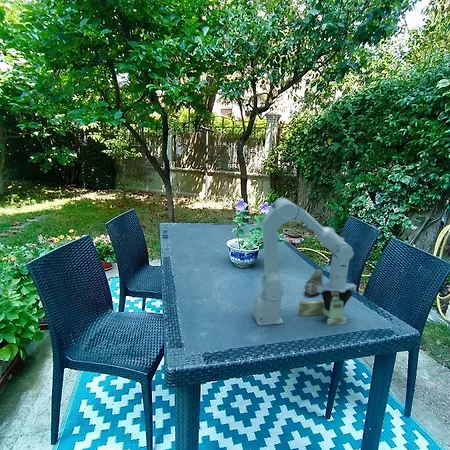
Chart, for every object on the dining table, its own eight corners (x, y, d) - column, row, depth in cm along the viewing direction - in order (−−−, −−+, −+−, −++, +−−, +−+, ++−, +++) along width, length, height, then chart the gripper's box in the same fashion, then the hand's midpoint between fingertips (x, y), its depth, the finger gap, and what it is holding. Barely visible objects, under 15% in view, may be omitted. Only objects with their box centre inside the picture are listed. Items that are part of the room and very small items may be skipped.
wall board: (308, 327, 103) (310, 314, 101) (298, 314, 111) (299, 302, 110) (349, 323, 106) (351, 311, 105) (336, 311, 114) (337, 299, 113)
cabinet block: (331, 319, 104) (332, 303, 103) (323, 313, 109) (324, 298, 109) (344, 318, 105) (344, 302, 104) (335, 313, 110) (336, 297, 110)
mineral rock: (308, 298, 123) (310, 276, 121) (292, 288, 133) (294, 267, 131) (331, 294, 129) (334, 272, 126) (315, 284, 138) (317, 264, 136)
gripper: (325, 279, 98) (321, 316, 102) (363, 277, 101) (358, 313, 104) (315, 271, 105) (311, 306, 108) (351, 270, 108) (346, 303, 111)
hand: (333, 308), depth 107 cm, fingers closed on cabinet block, 5 cm apart
